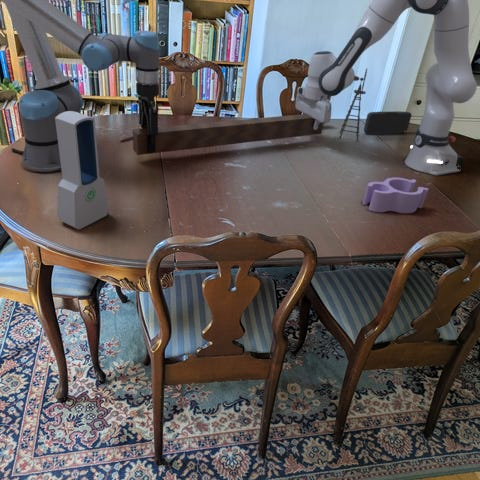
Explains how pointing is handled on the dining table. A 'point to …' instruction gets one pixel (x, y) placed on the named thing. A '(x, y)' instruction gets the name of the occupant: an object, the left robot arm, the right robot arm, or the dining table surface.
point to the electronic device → (79, 171)
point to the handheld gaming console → (387, 122)
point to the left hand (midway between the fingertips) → (148, 149)
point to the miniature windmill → (354, 106)
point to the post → (225, 133)
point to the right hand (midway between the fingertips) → (309, 126)
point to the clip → (394, 196)
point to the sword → (127, 139)
